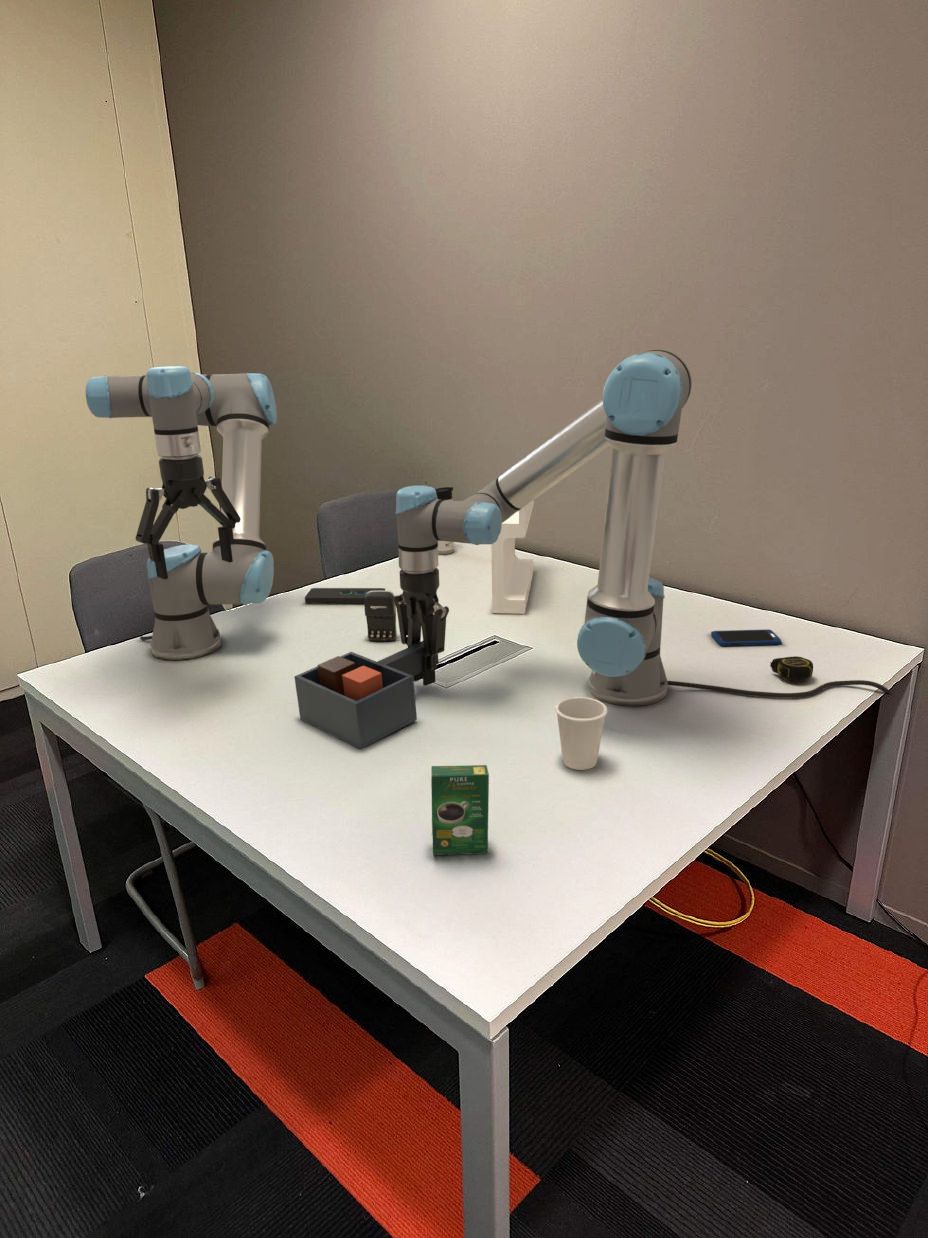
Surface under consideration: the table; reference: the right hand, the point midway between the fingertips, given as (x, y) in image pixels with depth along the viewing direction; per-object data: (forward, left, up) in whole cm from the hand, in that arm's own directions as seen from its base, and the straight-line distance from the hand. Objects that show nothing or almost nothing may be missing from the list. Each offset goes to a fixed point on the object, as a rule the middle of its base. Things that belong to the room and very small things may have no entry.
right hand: (424, 681), depth 170 cm
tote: (+9, +5, -2) cm, 10 cm away
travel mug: (-30, -95, -2) cm, 99 cm away
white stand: (-38, -52, -2) cm, 64 cm away
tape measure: (-71, +19, -2) cm, 74 cm away
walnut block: (+17, +6, -1) cm, 18 cm away
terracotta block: (+14, +12, -1) cm, 18 cm away
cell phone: (-75, -1, -2) cm, 75 cm away
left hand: (+41, -11, +25) cm, 49 cm away
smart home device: (+6, -61, -2) cm, 61 cm away
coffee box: (+8, +53, -2) cm, 54 cm away
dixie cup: (-18, +36, -2) cm, 40 cm away
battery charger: (+3, -30, -2) cm, 30 cm away
